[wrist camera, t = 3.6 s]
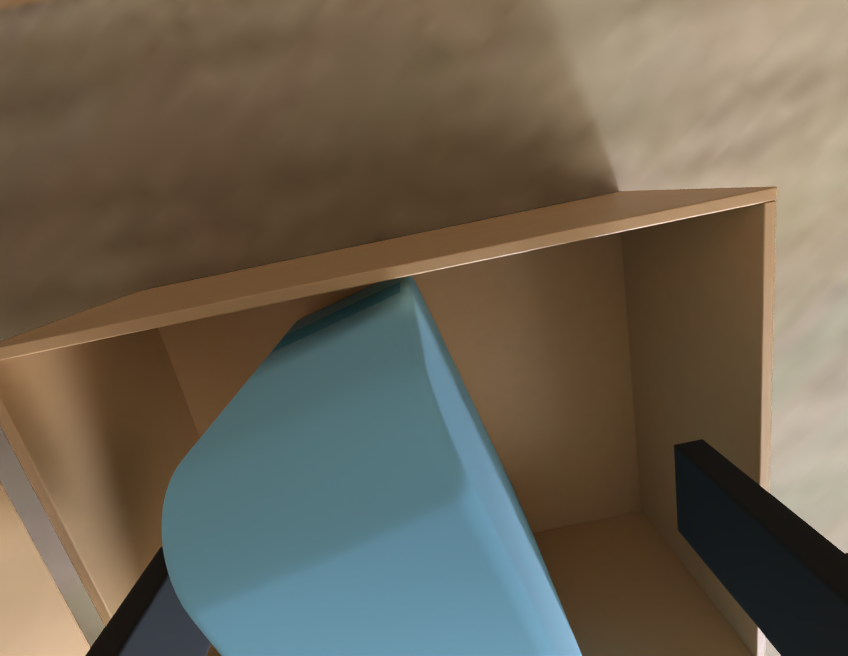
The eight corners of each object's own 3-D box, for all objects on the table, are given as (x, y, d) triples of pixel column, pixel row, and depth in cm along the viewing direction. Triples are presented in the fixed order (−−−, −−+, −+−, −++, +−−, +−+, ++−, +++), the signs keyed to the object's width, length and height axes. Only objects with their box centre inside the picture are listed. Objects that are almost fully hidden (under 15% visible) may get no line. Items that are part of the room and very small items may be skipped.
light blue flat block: (300, 312, 17) (109, 536, 6) (406, 262, 17) (424, 394, 6) (430, 542, 21) (471, 975, 9) (521, 503, 20) (681, 901, 9)
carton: (256, 589, 21) (185, 783, 14) (140, 290, 17) (-38, 354, 10) (644, 510, 21) (765, 664, 14) (621, 190, 17) (777, 186, 10)
